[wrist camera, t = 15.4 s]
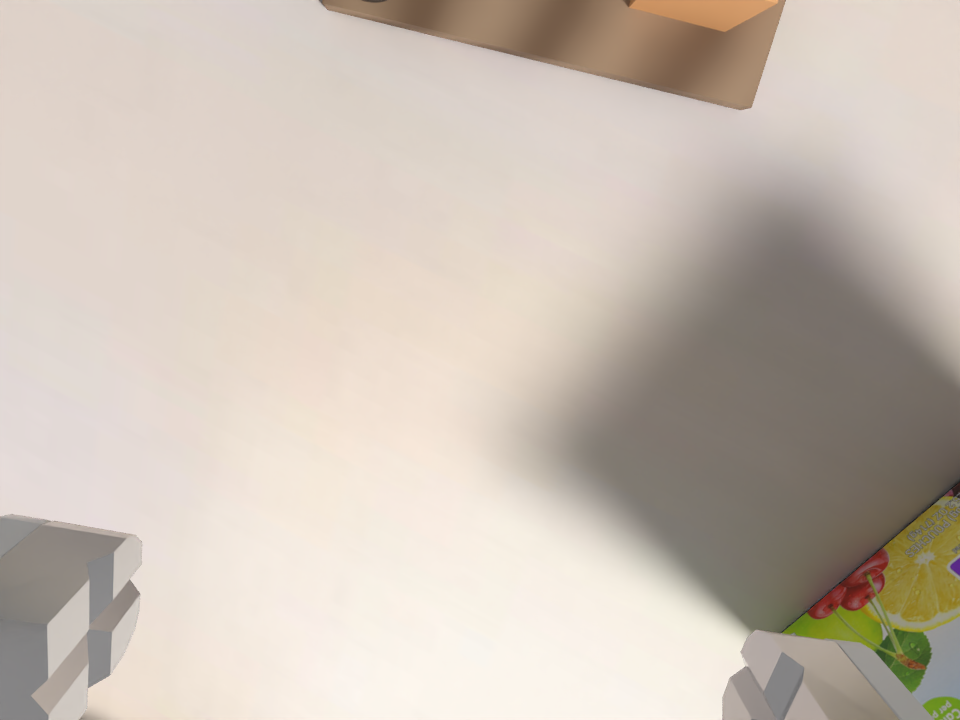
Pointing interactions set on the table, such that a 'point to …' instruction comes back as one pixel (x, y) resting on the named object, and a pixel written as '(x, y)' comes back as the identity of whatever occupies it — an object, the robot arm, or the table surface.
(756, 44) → the grey post on board
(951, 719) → the snack box
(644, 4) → the terracotta block
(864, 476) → the table surface
